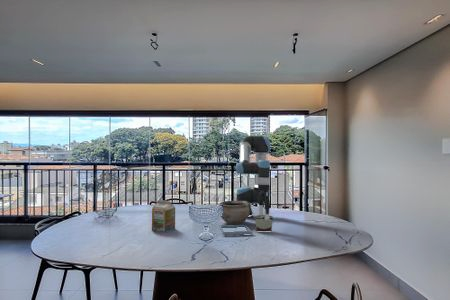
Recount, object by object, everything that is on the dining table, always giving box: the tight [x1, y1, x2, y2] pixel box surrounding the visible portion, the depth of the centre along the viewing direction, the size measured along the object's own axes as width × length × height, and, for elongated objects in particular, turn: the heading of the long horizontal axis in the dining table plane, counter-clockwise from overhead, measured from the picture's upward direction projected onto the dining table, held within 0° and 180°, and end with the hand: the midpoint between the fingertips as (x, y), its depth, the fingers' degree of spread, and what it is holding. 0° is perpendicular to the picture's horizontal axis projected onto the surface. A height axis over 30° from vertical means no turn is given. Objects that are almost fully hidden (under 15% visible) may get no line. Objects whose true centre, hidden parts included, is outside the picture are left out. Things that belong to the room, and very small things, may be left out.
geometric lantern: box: [92, 171, 121, 219], centre depth 230 cm, size 16×16×35 cm
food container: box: [254, 214, 274, 232], centre depth 188 cm, size 12×6×10 cm, turn 84°
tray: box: [218, 224, 253, 236], centre depth 185 cm, size 18×18×2 cm
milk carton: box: [151, 199, 176, 234], centre depth 190 cm, size 11×11×19 cm
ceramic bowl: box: [218, 200, 249, 225], centre depth 210 cm, size 22×22×15 cm
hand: (263, 217), depth 188 cm, fingers open, 13 cm apart
